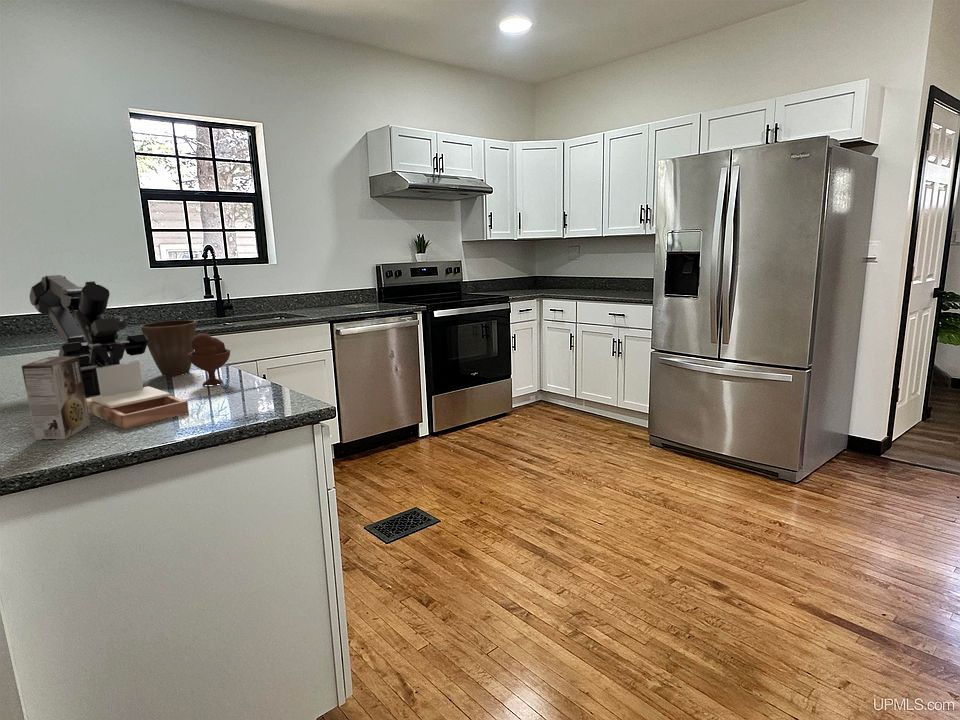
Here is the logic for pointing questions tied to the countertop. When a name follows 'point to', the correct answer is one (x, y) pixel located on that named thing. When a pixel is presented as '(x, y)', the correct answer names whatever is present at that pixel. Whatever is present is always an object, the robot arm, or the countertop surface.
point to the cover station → (139, 411)
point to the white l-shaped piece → (123, 386)
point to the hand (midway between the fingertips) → (118, 374)
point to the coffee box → (56, 397)
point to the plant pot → (170, 345)
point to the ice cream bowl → (208, 355)
